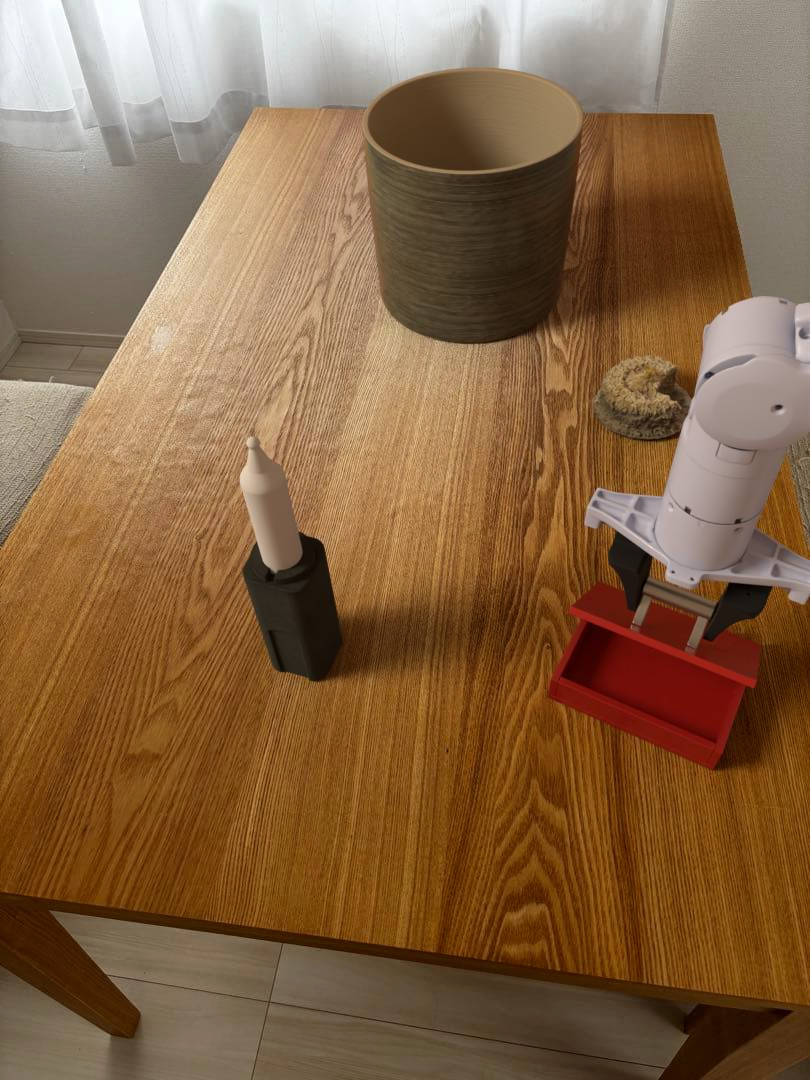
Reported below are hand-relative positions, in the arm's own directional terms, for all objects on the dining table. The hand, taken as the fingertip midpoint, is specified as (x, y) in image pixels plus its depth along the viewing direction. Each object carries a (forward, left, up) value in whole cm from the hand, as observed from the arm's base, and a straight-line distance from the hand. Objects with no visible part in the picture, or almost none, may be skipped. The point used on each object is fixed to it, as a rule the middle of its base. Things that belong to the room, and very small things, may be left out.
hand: (672, 614), depth 62 cm
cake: (+11, -29, -9) cm, 33 cm away
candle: (+26, +11, -9) cm, 30 cm away
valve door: (0, 0, -3) cm, 3 cm away
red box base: (0, +1, -9) cm, 9 cm away
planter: (+36, -40, -9) cm, 55 cm away
